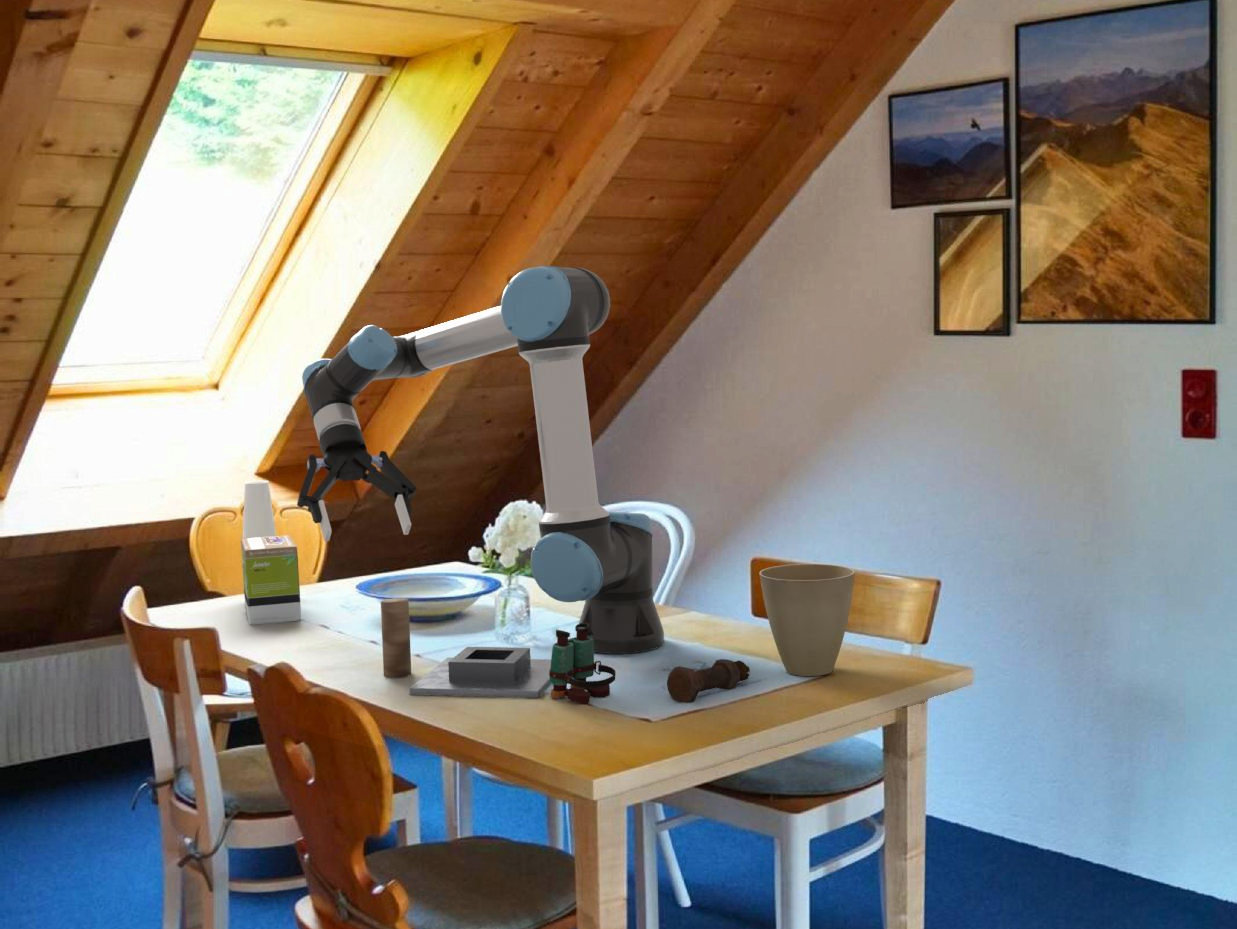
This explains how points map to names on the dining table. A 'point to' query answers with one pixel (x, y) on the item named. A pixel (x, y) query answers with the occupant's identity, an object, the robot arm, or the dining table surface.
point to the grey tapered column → (258, 510)
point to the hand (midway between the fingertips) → (368, 533)
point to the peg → (396, 637)
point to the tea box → (271, 579)
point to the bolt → (705, 679)
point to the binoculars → (577, 668)
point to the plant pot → (808, 614)
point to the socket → (487, 674)
